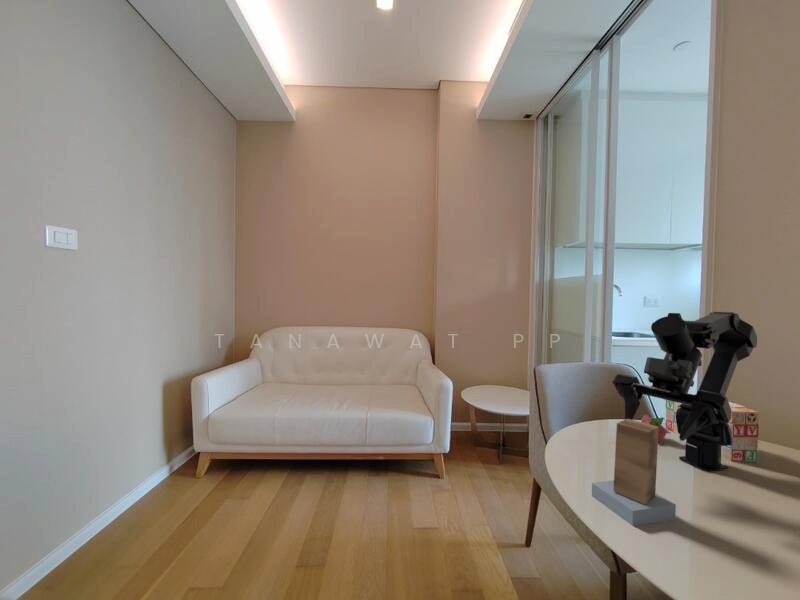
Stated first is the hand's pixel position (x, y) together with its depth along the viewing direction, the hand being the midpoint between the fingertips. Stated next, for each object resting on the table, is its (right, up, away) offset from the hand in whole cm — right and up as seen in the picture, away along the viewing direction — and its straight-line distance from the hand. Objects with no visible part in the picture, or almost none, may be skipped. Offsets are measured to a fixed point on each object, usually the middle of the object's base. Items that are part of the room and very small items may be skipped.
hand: (652, 430), depth 68 cm
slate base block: (-7, -13, -4) cm, 15 cm away
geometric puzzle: (+20, -13, +27) cm, 36 cm away
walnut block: (-6, -10, -4) cm, 12 cm away
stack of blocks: (+33, -13, +26) cm, 44 cm away
